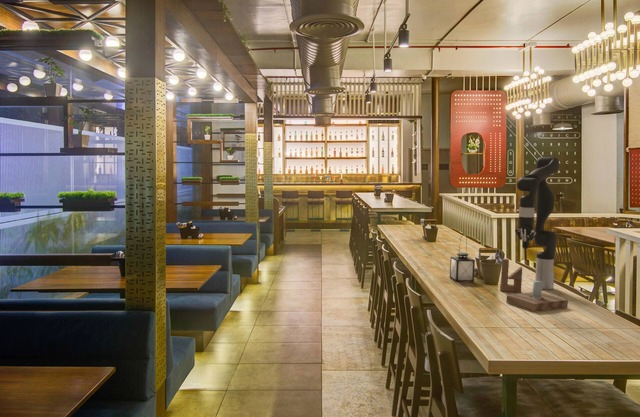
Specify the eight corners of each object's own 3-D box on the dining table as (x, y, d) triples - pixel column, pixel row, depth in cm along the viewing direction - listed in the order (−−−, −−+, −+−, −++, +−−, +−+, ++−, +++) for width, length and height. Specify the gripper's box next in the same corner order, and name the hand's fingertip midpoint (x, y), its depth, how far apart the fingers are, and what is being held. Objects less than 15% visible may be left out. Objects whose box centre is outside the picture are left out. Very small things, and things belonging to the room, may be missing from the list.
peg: (536, 303, 254) (537, 280, 253) (542, 305, 250) (544, 282, 249) (530, 304, 252) (531, 281, 251) (536, 306, 248) (537, 282, 247)
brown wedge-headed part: (521, 292, 277) (522, 260, 275) (500, 291, 279) (502, 259, 277) (519, 291, 280) (521, 259, 279) (499, 289, 282) (501, 258, 281)
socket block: (538, 298, 264) (539, 291, 263) (567, 307, 247) (568, 299, 247) (506, 302, 255) (506, 294, 255) (534, 312, 239) (534, 303, 238)
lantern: (466, 277, 313) (468, 233, 311) (474, 281, 302) (476, 235, 300) (449, 277, 312) (451, 233, 310) (456, 281, 301) (458, 235, 299)
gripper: (542, 216, 258) (540, 250, 260) (522, 214, 270) (520, 246, 272) (531, 217, 255) (529, 251, 257) (511, 214, 267) (510, 246, 269)
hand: (525, 248), depth 264 cm, fingers closed
